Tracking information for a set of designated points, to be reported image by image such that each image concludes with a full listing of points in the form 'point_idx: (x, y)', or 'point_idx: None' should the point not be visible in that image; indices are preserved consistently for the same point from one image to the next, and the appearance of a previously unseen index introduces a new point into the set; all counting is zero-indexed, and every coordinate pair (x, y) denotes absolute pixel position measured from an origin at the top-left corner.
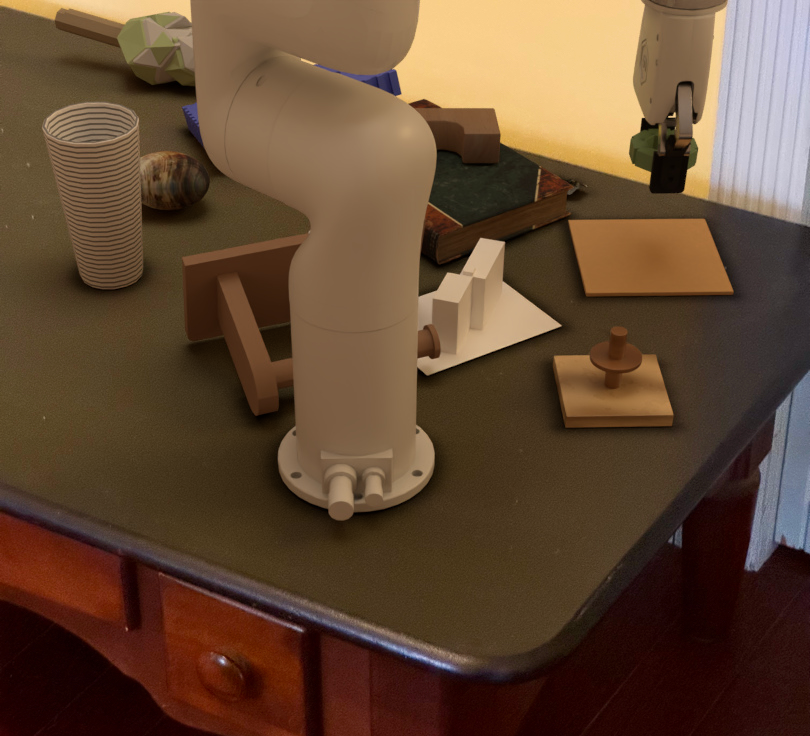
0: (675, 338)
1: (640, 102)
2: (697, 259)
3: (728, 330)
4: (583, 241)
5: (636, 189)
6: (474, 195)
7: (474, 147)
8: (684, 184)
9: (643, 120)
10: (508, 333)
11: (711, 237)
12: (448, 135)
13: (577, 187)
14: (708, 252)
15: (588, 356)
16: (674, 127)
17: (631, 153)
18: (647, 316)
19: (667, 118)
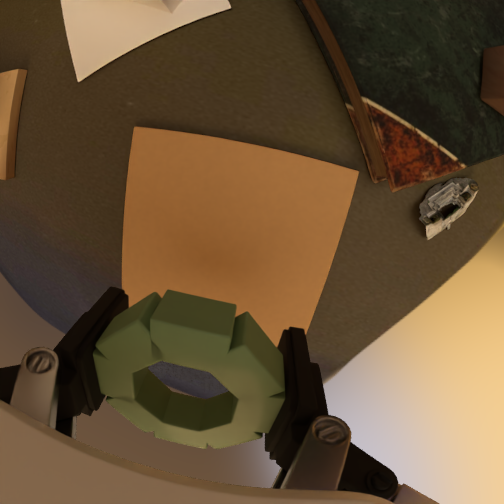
0: (48, 215)
1: (99, 478)
2: None
3: (63, 277)
4: (285, 168)
5: (404, 301)
6: (393, 9)
7: (500, 59)
8: None
9: (298, 408)
10: (83, 20)
11: None
12: None
13: (423, 218)
14: None
15: (9, 105)
16: (265, 441)
17: (190, 306)
18: (85, 197)
19: (277, 451)
